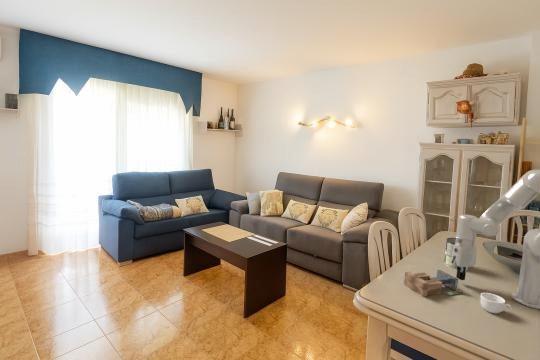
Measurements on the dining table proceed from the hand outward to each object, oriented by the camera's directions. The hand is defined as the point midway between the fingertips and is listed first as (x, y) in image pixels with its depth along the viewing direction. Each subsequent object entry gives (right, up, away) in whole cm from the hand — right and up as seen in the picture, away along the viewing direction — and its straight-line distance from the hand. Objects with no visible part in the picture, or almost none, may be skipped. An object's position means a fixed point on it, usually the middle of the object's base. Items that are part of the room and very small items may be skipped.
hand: (460, 278), depth 137 cm
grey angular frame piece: (-12, -2, -4) cm, 13 cm away
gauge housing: (-16, -3, -5) cm, 17 cm away
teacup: (-1, -6, -21) cm, 22 cm away
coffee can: (+11, 0, +22) cm, 25 cm away
